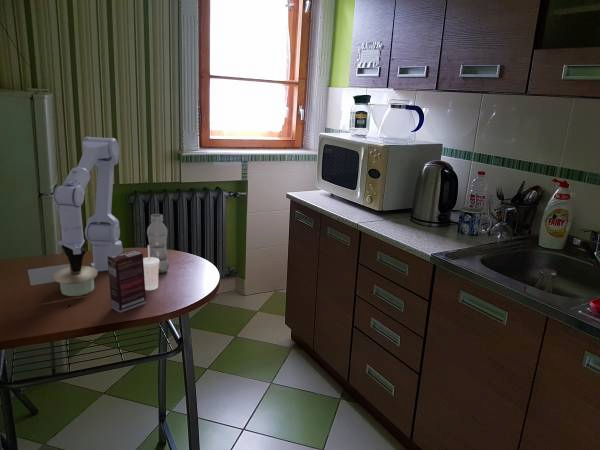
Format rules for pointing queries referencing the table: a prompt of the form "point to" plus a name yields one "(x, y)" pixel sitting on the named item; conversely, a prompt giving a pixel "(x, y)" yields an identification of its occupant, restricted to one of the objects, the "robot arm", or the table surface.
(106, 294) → the table surface
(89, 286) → the bowl
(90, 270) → the board
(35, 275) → the mat
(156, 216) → the plastic bottle
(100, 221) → the robot arm
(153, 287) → the beverage cup
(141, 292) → the supplement box
